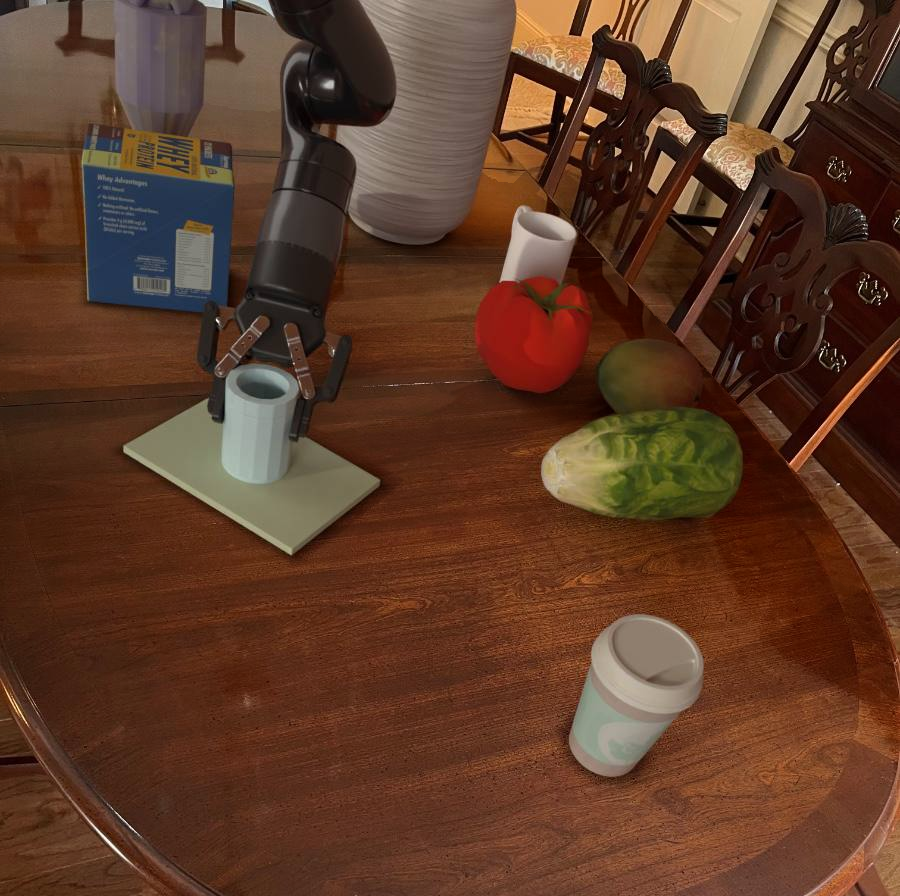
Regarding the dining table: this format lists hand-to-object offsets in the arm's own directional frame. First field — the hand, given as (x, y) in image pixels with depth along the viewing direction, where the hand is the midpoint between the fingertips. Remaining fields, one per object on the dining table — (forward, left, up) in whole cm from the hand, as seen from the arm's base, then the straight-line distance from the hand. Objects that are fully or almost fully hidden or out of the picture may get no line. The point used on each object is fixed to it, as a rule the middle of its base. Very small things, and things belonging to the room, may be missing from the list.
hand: (255, 430), depth 90 cm
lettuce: (+29, +24, -6) cm, 39 cm away
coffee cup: (+41, -6, -6) cm, 42 cm away
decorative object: (-45, +35, -6) cm, 57 cm away
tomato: (+9, +38, -6) cm, 40 cm away
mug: (-1, +56, -6) cm, 57 cm away
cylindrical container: (-1, +1, -5) cm, 5 cm away
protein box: (-30, +19, -6) cm, 36 cm away
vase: (-23, +59, -6) cm, 64 cm away
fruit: (+23, +41, -6) cm, 48 cm away
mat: (-1, +1, -6) cm, 6 cm away
